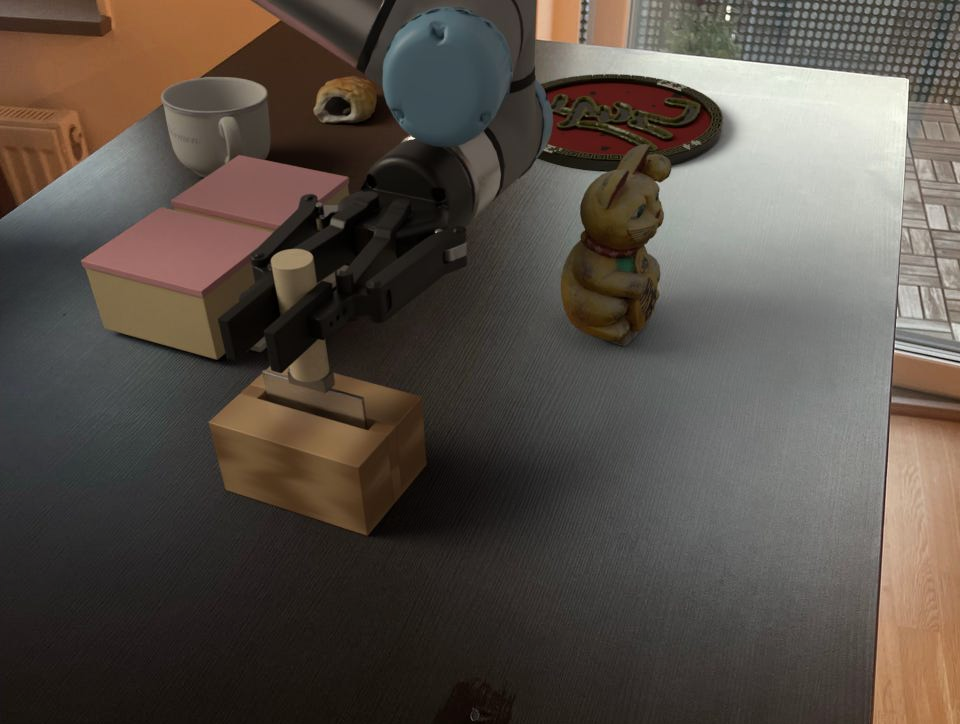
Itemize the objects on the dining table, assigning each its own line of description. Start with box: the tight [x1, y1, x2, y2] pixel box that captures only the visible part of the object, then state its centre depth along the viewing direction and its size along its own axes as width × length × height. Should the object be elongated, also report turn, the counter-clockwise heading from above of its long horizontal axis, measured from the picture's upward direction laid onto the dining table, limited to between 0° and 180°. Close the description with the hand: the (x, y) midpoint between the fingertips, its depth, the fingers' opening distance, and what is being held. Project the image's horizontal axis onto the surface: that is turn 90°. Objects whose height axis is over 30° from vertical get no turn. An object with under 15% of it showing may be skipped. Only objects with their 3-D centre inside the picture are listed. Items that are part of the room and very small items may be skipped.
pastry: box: [313, 75, 378, 125], centre depth 121 cm, size 9×7×4 cm
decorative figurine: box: [560, 144, 673, 347], centre depth 84 cm, size 10×8×15 cm
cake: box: [80, 155, 350, 360], centre depth 92 cm, size 16×23×7 cm
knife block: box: [208, 366, 427, 537], centre depth 74 cm, size 12×9×6 cm
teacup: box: [160, 76, 271, 179], centre depth 108 cm, size 14×11×8 cm
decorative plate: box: [537, 73, 724, 172], centre depth 118 cm, size 25×1×25 cm
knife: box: [261, 249, 368, 430], centre depth 70 cm, size 8×3×17 cm, turn 64°
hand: (250, 345), depth 62 cm, fingers closed on knife, 3 cm apart
